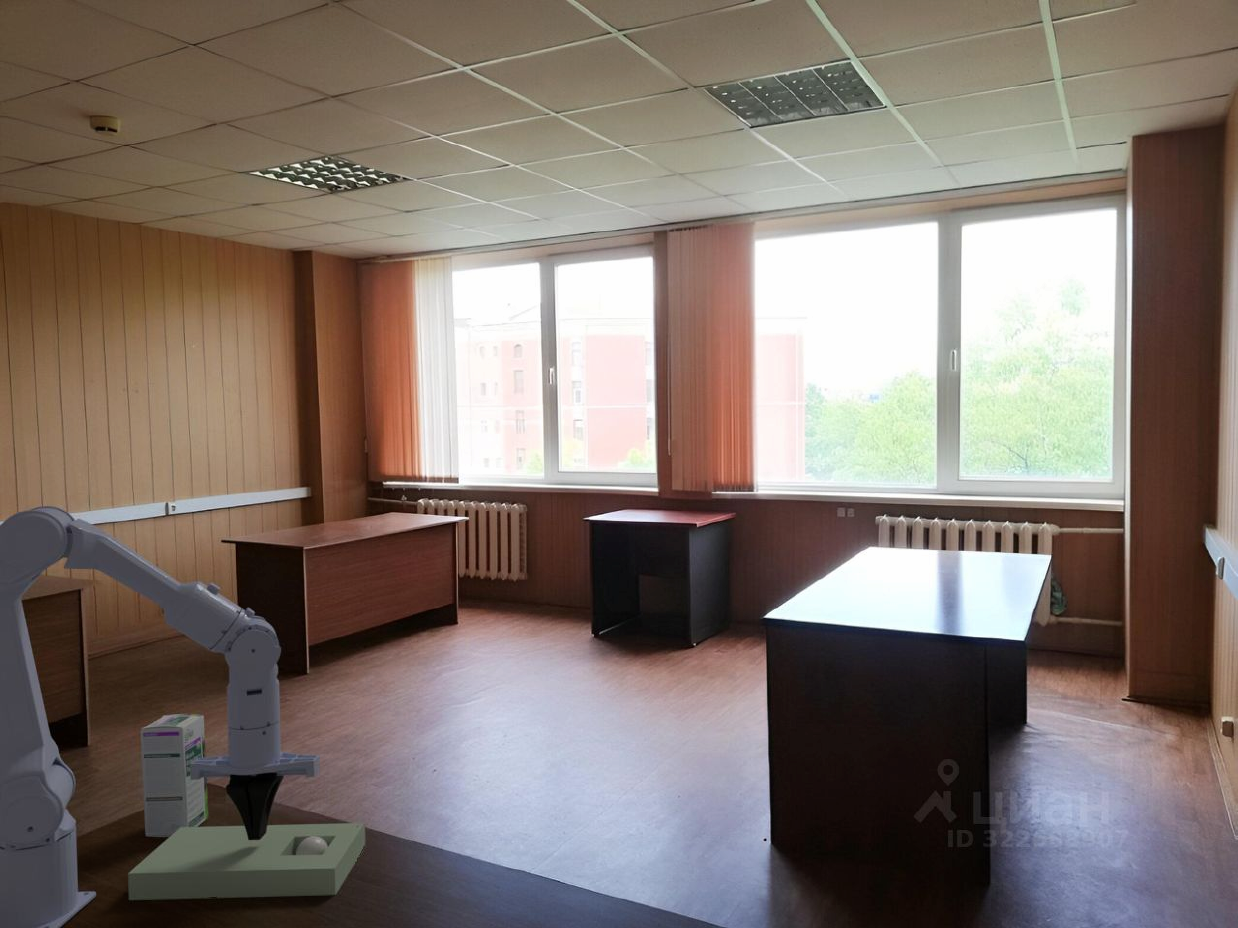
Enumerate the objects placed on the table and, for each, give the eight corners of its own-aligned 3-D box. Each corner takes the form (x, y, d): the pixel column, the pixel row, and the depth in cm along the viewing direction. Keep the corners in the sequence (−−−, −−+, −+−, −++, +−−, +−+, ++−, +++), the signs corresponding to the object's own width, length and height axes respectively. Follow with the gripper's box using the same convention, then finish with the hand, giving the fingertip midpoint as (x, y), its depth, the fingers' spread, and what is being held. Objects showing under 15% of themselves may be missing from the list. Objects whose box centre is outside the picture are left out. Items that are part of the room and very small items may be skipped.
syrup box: (187, 837, 114) (184, 726, 114) (142, 837, 114) (139, 726, 114) (209, 818, 120) (206, 712, 120) (166, 819, 120) (163, 713, 120)
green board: (128, 899, 98) (128, 873, 98) (181, 850, 110) (180, 827, 110) (335, 894, 99) (334, 868, 98) (365, 846, 111) (364, 822, 110)
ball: (328, 863, 103) (303, 881, 103) (338, 848, 106) (313, 865, 106) (310, 839, 103) (285, 856, 103) (320, 824, 106) (296, 841, 106)
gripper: (326, 710, 108) (329, 820, 108) (208, 713, 108) (211, 823, 108) (306, 728, 101) (309, 846, 101) (179, 731, 101) (183, 849, 101)
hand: (257, 836), depth 104 cm, fingers closed
